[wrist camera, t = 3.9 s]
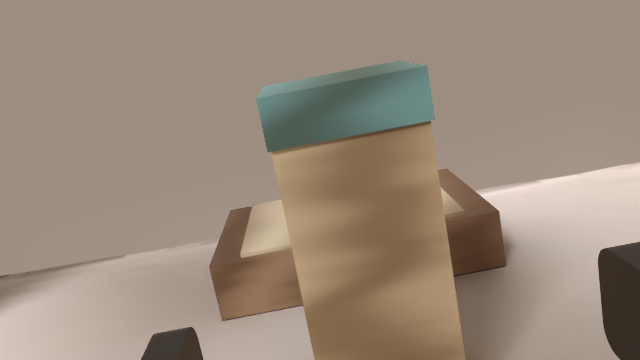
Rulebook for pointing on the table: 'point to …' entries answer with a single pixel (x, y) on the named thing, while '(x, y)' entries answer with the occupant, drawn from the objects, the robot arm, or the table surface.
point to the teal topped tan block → (365, 212)
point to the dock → (278, 262)
